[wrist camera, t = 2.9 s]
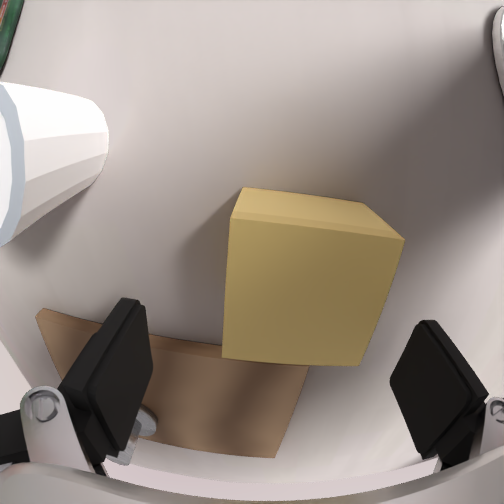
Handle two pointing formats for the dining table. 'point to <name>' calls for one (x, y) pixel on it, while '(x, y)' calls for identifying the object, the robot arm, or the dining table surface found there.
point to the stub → (137, 434)
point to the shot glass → (45, 152)
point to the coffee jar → (8, 24)
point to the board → (198, 390)
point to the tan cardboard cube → (305, 278)
